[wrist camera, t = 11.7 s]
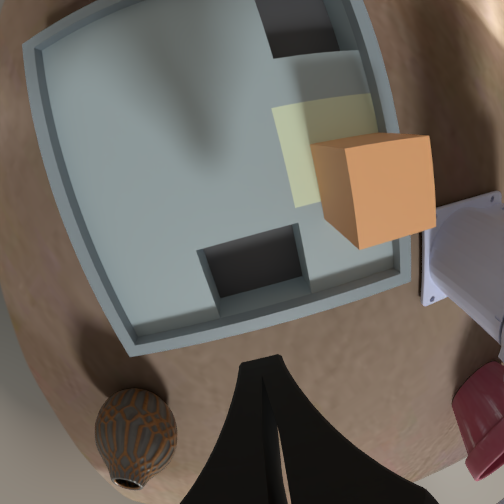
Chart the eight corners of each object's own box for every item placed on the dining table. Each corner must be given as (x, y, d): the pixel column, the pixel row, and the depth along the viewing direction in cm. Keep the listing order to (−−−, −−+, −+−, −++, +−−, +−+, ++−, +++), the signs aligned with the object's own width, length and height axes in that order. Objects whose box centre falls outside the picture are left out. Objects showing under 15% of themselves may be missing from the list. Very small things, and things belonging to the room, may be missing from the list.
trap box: (324, -22, 12) (342, -46, 9) (386, 259, 20) (410, 281, 16) (50, 54, 12) (22, 44, 9) (140, 326, 20) (129, 357, 17)
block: (378, 132, 14) (429, 135, 10) (388, 202, 15) (436, 226, 11) (309, 144, 14) (344, 148, 10) (324, 219, 15) (359, 250, 11)
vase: (92, 388, 22) (65, 465, 14) (144, 366, 21) (122, 458, 13) (141, 429, 25) (130, 502, 16) (195, 412, 24) (192, 496, 16)
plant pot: (426, 401, 28) (473, 478, 16) (507, 326, 25) (567, 385, 14) (444, 429, 33) (477, 486, 21) (509, 372, 30) (549, 420, 18)
